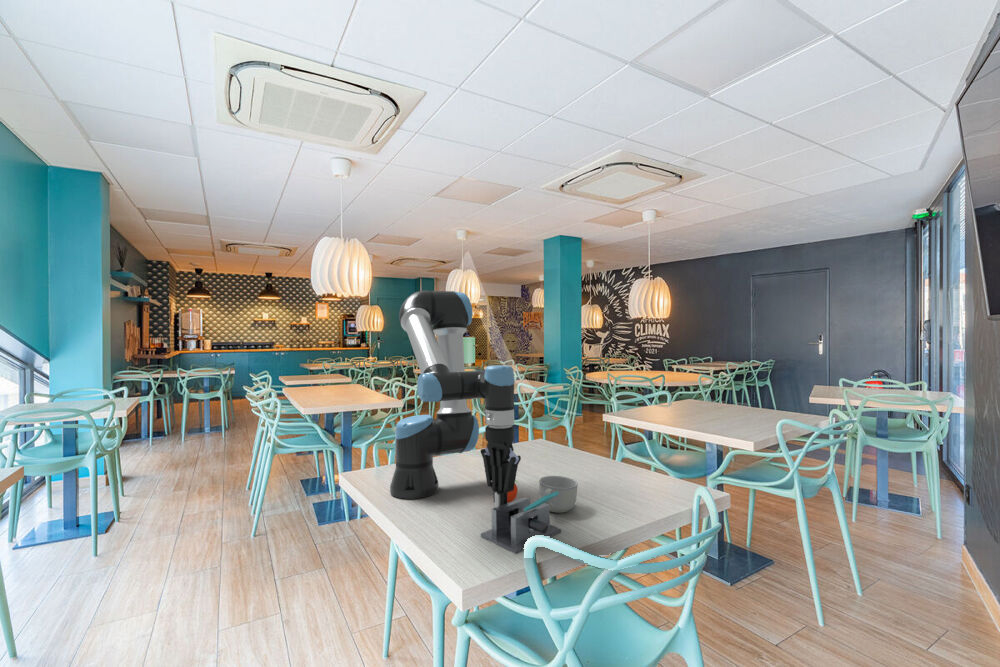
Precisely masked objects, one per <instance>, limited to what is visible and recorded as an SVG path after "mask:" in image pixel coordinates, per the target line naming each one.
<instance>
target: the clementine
mask: <svg viewBox="0 0 1000 667" xmlns="http://www.w3.org/2000/svg"><path fill="white" fill-rule="evenodd" d="M516 483H518V481H517V480H516V479H515V484H514V490H513V491H510V492H508V493H507V503H510V502H512V501H515V500H516V498H517V495H518V486H517V484H516Z"/></svg>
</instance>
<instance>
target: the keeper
mask: <svg viewBox="0 0 1000 667" xmlns="http://www.w3.org/2000/svg"><path fill="white" fill-rule="evenodd" d="M558 494H559V492H558V491H557V492H554V493H551V494H549V495H546V496H544V497H542V498H540V499H537V500H536V501H534V502H533V503H530V505H529V506H527V507H526V508H524V509H523V512H525V511H528V510H531V509H533V508H536V507H538V506H540V505H541V504H543V503H545V502H546V501H548V500H550V499H551V498H553V497H555V496H557V495H558Z"/></svg>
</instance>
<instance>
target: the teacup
mask: <svg viewBox="0 0 1000 667" xmlns="http://www.w3.org/2000/svg"><path fill="white" fill-rule="evenodd" d="M538 482H539V486H538V487H539V489H538V495H539V496H538V497H539V499H540V498H542V497H544V496H546V495H549V494H551V493H554V492H557V491H558V492H559V494H558V495H557V496H555V497H553V498H551V499H550V500H548V501H546V502H545V504H548V505H549V507H550V512H552V513H559V514H563V513H564V514H565V513H567V512H569V511H570V510H572V509H573V508H574V507H575V506H576V503H577V495H578V485H579V484H578V482H577V481H576V480H575V479H573V478H570V477H567V476H562V475H547V476H542V477H540V478H539V480H538ZM539 499H538V500H539ZM543 504H544V503H543Z"/></svg>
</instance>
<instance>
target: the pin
mask: <svg viewBox="0 0 1000 667" xmlns="http://www.w3.org/2000/svg"><path fill="white" fill-rule="evenodd" d="M516 514H518V512H516V511H514V510H511V511H509V521H511V516H513V515H516ZM528 527H529V528H530V529H533V530H535V531H538V532H540V533H543V534H545V533H546V532H547V530H548V524H547V523H545V522H542V521H539V520H537V519H534V518H533V517H532V518H529V519H528Z"/></svg>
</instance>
